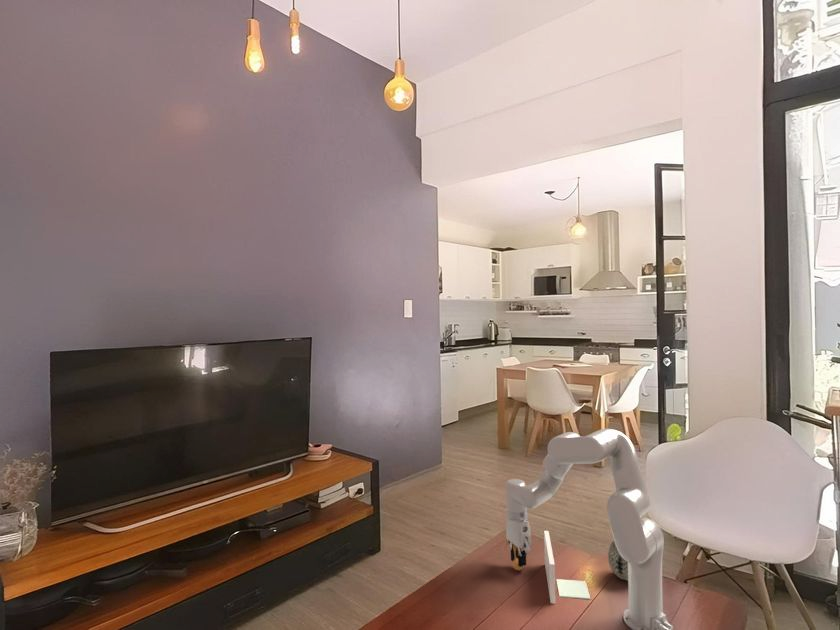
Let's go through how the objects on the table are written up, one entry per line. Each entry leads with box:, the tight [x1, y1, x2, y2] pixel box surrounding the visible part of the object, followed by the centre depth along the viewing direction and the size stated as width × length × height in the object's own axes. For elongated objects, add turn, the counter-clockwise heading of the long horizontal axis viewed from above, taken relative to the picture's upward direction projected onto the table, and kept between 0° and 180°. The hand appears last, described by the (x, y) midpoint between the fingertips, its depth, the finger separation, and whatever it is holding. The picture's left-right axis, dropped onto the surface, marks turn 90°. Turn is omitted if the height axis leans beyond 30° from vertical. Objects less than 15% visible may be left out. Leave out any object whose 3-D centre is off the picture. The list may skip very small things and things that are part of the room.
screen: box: [543, 530, 556, 605], centre depth 168 cm, size 24×2×13 cm, turn 170°
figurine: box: [505, 540, 524, 571], centre depth 179 cm, size 8×6×12 cm
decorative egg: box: [607, 540, 628, 582], centre depth 170 cm, size 12×12×15 cm
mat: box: [555, 578, 591, 600], centre depth 164 cm, size 10×10×1 cm
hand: (518, 562), depth 178 cm, fingers closed on figurine, 3 cm apart
